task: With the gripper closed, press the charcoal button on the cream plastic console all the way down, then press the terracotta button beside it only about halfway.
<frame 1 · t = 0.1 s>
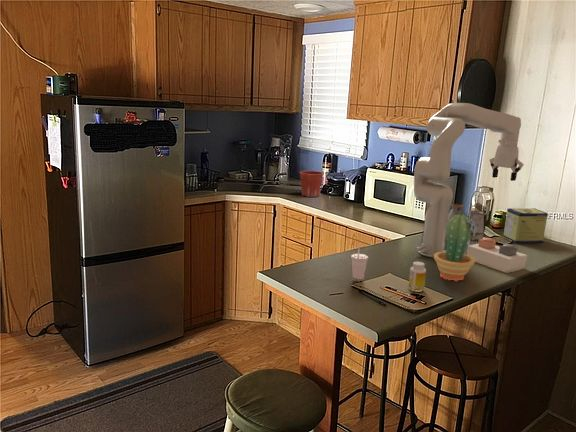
hand: (503, 178, 235), 31 cm above the kitchen counter, tool pointing down, fingers open, 9 cm apart
smoothie: (357, 281, 184), on the kitchen counter
supplement bottle: (416, 290, 177), on the kitchen counter
coffee pot: (454, 231, 259), on the kitchen counter
flower pot: (310, 195, 336), on the kitchen counter
protein box: (522, 240, 245), on the kitchen counter
coffee box: (474, 245, 234), on the kitchen counter
potted cactus: (451, 277, 191), on the kitchen counter
console: (494, 263, 208), on the kitchen counter
terracotta button: (486, 245, 211), point 7 cm above the kitchen counter, slide at 0.0 cm
charcoal button: (507, 252, 203), point 7 cm above the kitchen counter, slide at 0.0 cm
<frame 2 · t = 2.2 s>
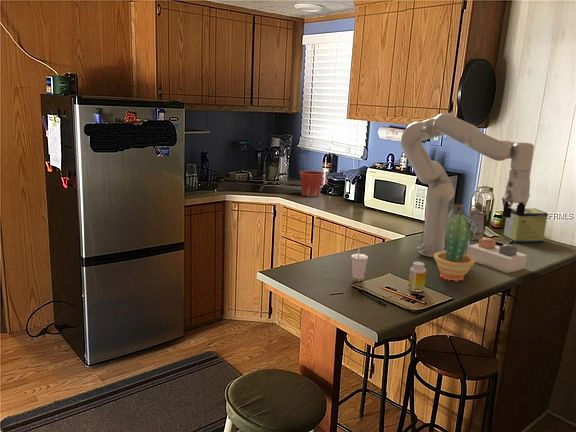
hand: (513, 215, 199), 22 cm above the kitchen counter, tool pointing down, fingers open, 8 cm apart
nothing on the kitchen counter moved.
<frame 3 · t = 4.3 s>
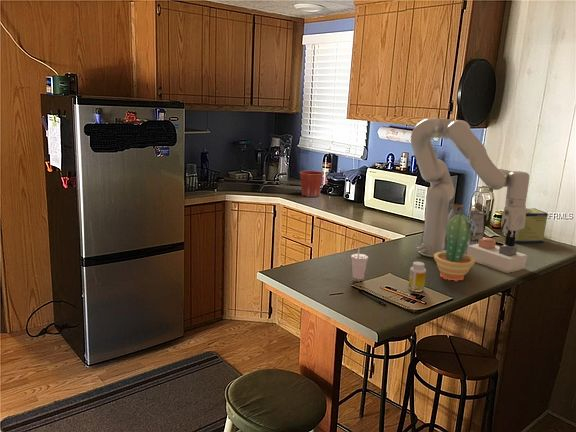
hand: (509, 245, 202), 10 cm above the kitchen counter, tool pointing down, fingers closed
charcoal button: (507, 252, 203), point 7 cm above the kitchen counter, slide at 0.0 cm, touching gripper
everything else where it was.
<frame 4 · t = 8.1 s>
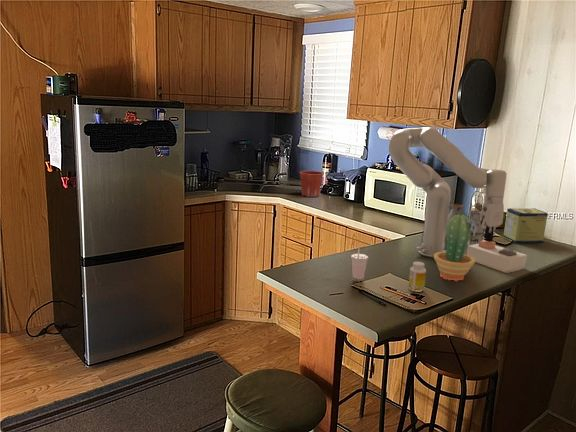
hand: (488, 240, 210), 9 cm above the kitchen counter, tool pointing down, fingers closed
terracotta button: (486, 247, 211), point 6 cm above the kitchen counter, slide at 0.8 cm, touching gripper
charcoal button: (507, 256, 203), point 5 cm above the kitchen counter, slide at 2.0 cm
everything else where it was.
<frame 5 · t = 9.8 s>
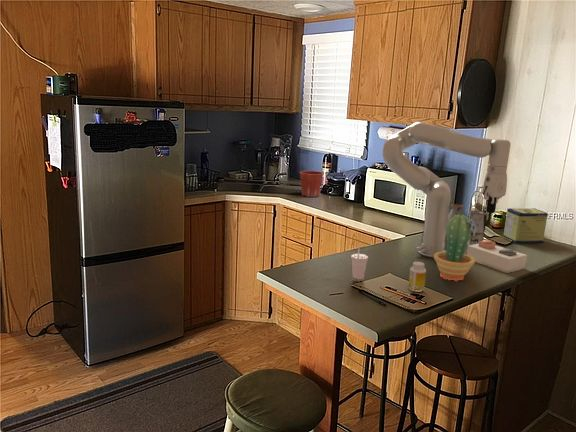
hand: (490, 212, 208), 21 cm above the kitchen counter, tool pointing down, fingers closed
terracotta button: (486, 247, 211), point 6 cm above the kitchen counter, slide at 0.9 cm
everything else where it was.
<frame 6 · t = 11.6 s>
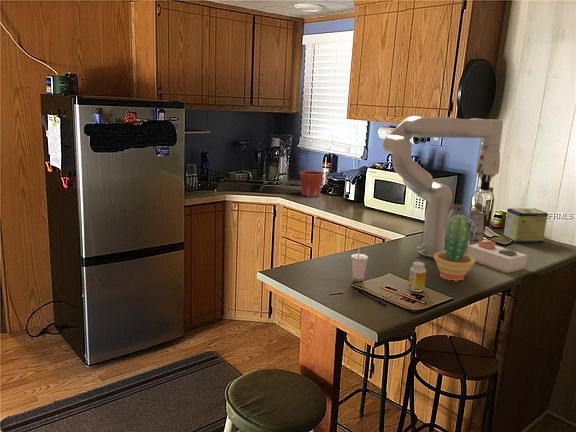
hand: (484, 189, 216), 29 cm above the kitchen counter, tool pointing down, fingers closed
nothing on the kitchen counter moved.
at the end: charcoal button slide at 2.0 cm; terracotta button slide at 0.9 cm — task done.
